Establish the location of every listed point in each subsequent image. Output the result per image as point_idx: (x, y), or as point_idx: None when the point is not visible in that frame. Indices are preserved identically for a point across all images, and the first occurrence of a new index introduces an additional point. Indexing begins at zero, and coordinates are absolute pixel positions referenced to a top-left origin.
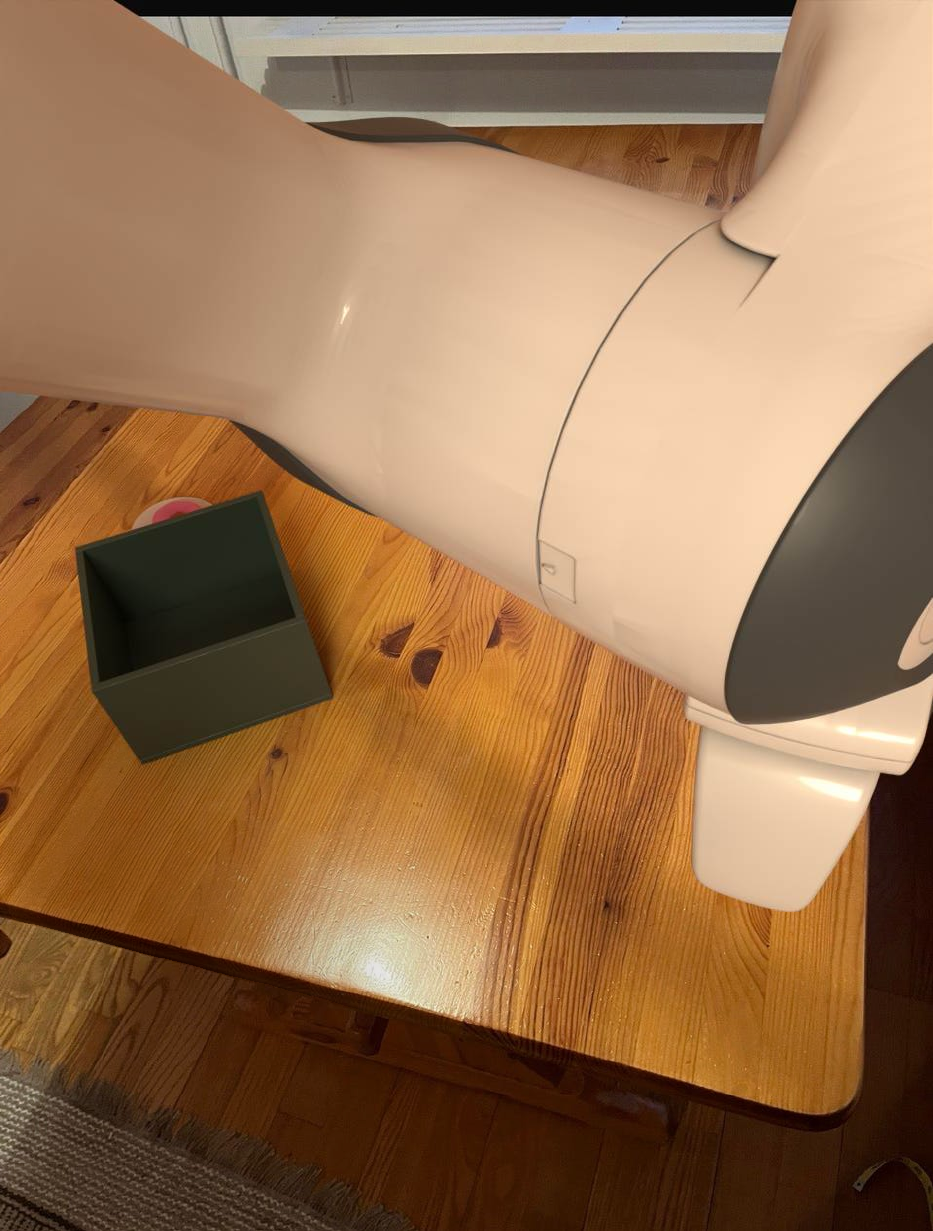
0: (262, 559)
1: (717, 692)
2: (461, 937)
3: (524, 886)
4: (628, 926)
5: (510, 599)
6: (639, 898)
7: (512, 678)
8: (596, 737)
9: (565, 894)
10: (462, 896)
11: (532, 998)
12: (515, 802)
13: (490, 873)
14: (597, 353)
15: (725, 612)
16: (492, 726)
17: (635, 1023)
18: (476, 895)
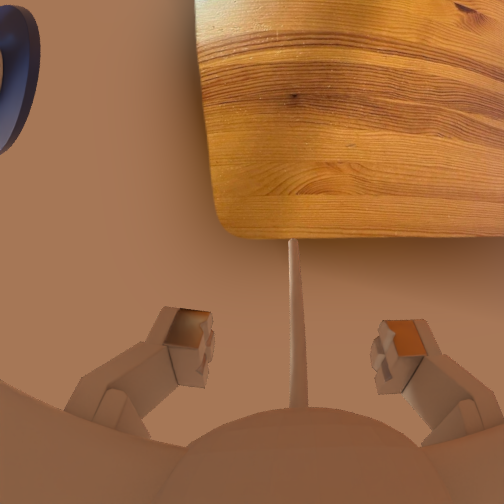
0: None
1: None
2: (241, 18)
3: (289, 43)
4: (284, 112)
5: (490, 20)
6: (305, 115)
7: (439, 18)
8: (414, 73)
9: (293, 69)
10: (269, 10)
11: (219, 69)
12: (349, 25)
13: (291, 21)
14: None
15: None
16: (400, 6)
17: (226, 129)
18: (272, 17)
